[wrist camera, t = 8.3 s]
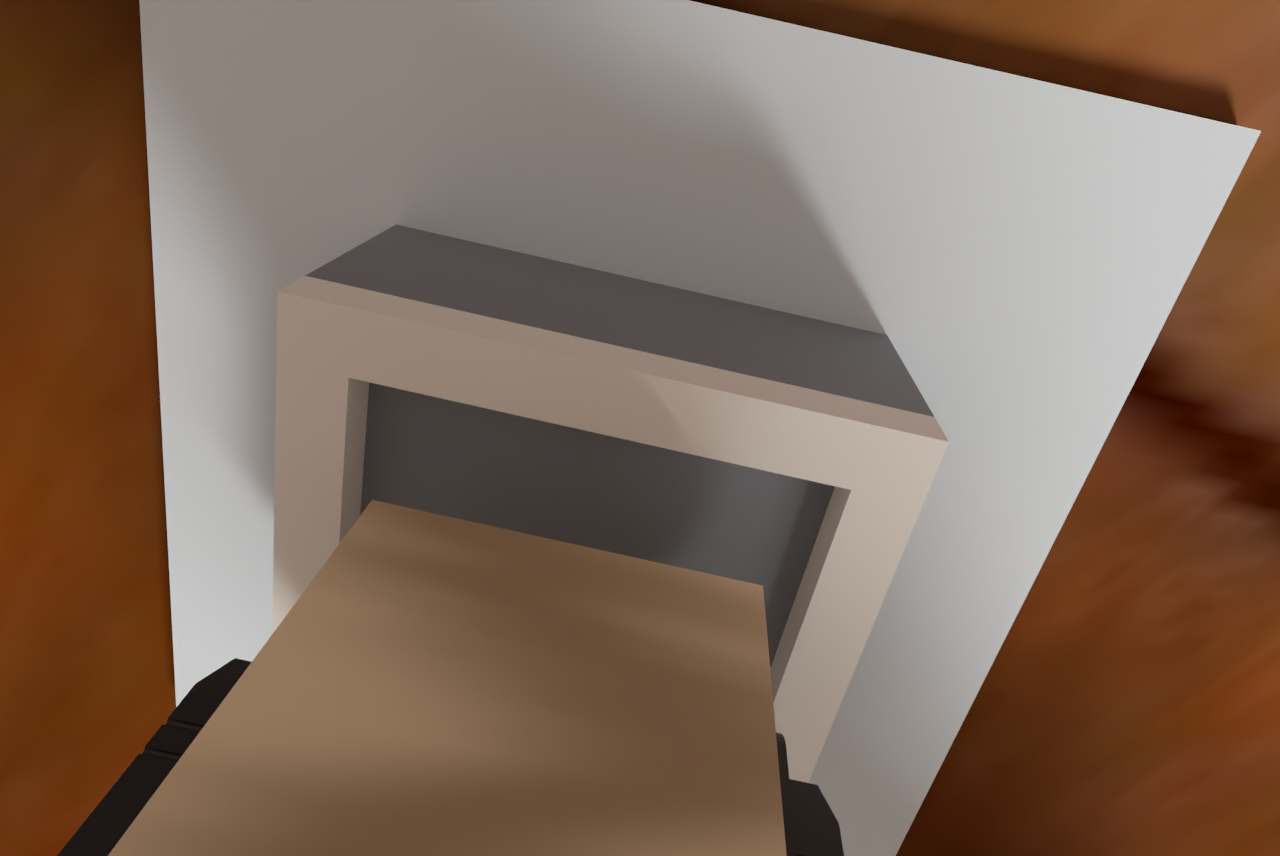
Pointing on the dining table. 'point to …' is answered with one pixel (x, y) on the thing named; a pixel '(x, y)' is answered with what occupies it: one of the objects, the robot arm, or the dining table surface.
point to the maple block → (487, 710)
